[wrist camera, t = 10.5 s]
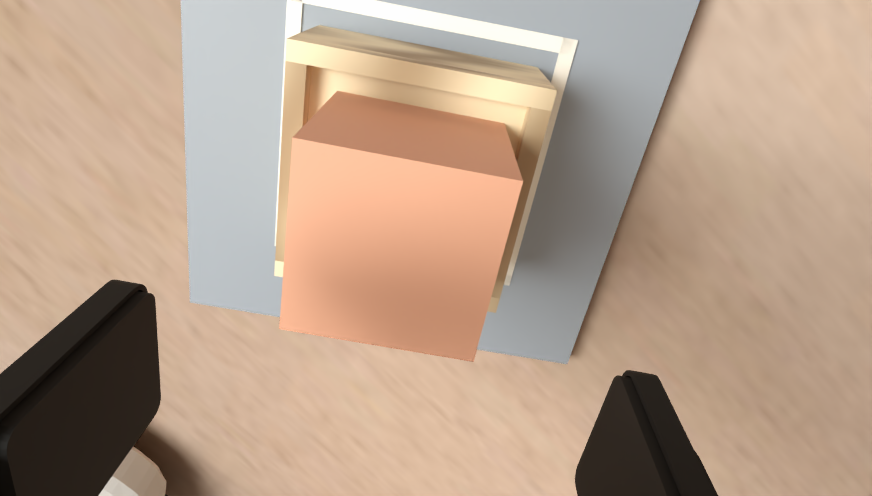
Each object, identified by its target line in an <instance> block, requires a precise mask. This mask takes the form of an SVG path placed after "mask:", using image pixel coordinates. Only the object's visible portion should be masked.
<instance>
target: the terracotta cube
mask: <svg viewBox="0 0 872 496" xmlns="http://www.w3.org/2000/svg"><path fill="white" fill-rule="evenodd" d="M522 184H523V179H522V176H521V173H520V170H519V167H518V164H517V161H516V158H515V155H514V152H513V149H512V145H511V142H510V139H509V136H508V133H507V130H506V127H505V124H504V123H500V122H495V121H490V120H485V119H480V118H475V117H470V116H465V115H459V114H454V113H449V112H444V111H439V110H434V109H429V108H424V107H419V106H413V105H408V104H403V103H398V102H393V101H388V100H383V99H378V98H372V97H367V96H362V95H357V94H352V93H347V92H342V91H336V93H335V94H334V95H333V96H332V97H331V98H330V99H329V100H328V101H327V102H326V103H325V104H324V105H323V106H322V107H321V108H320V109H319V110H318V111H317V112H316V113H315V114H314V116H313V117H312V118H311V119H310V120H309V121H308V122H307V123H306V124H305V125H304V126H303V127H302V128H301V129H300V130H299V131H298V132H297V133H296V134H295V135H294V136H293V137H292V151H291V165H290V180H289V194H288V209H287V223H286V238H285V252H284V267H283V281H282V296H281V310H280V325H279V329H283V330H288V331H294V332H300V333H306V334H312V335H318V336H324V337H330V338H336V339H342V340H348V341H354V342H359V343H365V344H371V345H377V346H383V347H389V348H395V349H401V350H407V351H413V352H419V353H425V354H430V355H436V356H442V357H448V358H454V359H460V360H466V361H472V362H473V361H474V358H475V354H476V351H477V347H478V343H479V340H480V336H481V332H482V329H483V325H484V322H485V318H486V314H487V311H488V307H489V303H490V300H491V296H492V293H493V289H494V285H495V282H496V278H497V274H498V271H499V267H500V263H501V260H502V256H503V253H504V249H505V245H506V242H507V238H508V234H509V231H510V227H511V224H512V220H513V216H514V213H515V209H516V205H517V202H518V198H519V195H520V191H521V187H522Z"/></svg>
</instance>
